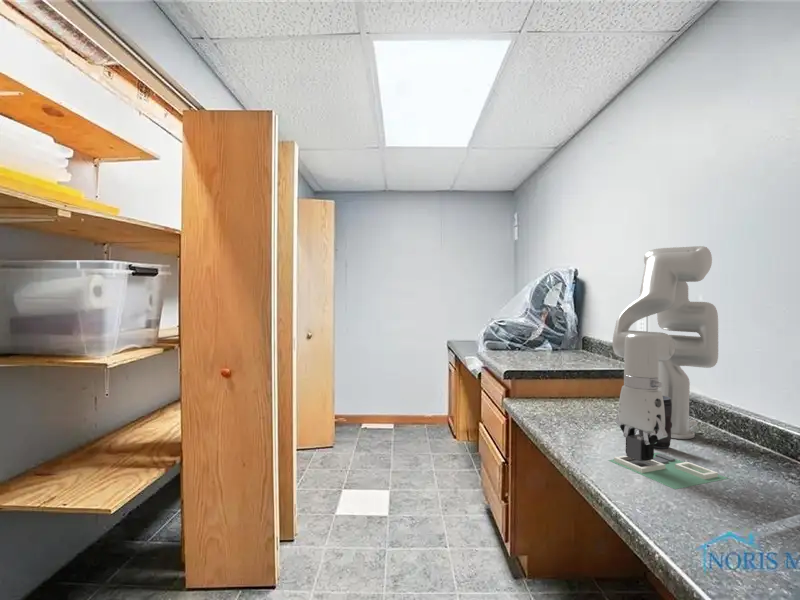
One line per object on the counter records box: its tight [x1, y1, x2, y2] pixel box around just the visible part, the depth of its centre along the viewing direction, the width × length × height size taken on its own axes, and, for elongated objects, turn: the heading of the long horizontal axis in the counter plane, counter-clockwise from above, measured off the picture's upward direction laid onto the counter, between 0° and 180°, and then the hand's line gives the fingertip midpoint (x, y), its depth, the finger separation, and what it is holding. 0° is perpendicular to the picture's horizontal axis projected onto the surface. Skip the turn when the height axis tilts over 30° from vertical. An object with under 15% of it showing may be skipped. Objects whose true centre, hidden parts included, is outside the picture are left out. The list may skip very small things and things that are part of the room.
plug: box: [625, 434, 650, 461], centre depth 108 cm, size 4×4×6 cm
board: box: [607, 452, 730, 490], centre depth 106 cm, size 18×18×2 cm
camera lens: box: [638, 396, 672, 450], centre depth 124 cm, size 8×8×15 cm
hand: (639, 455), depth 108 cm, fingers closed on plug, 4 cm apart
